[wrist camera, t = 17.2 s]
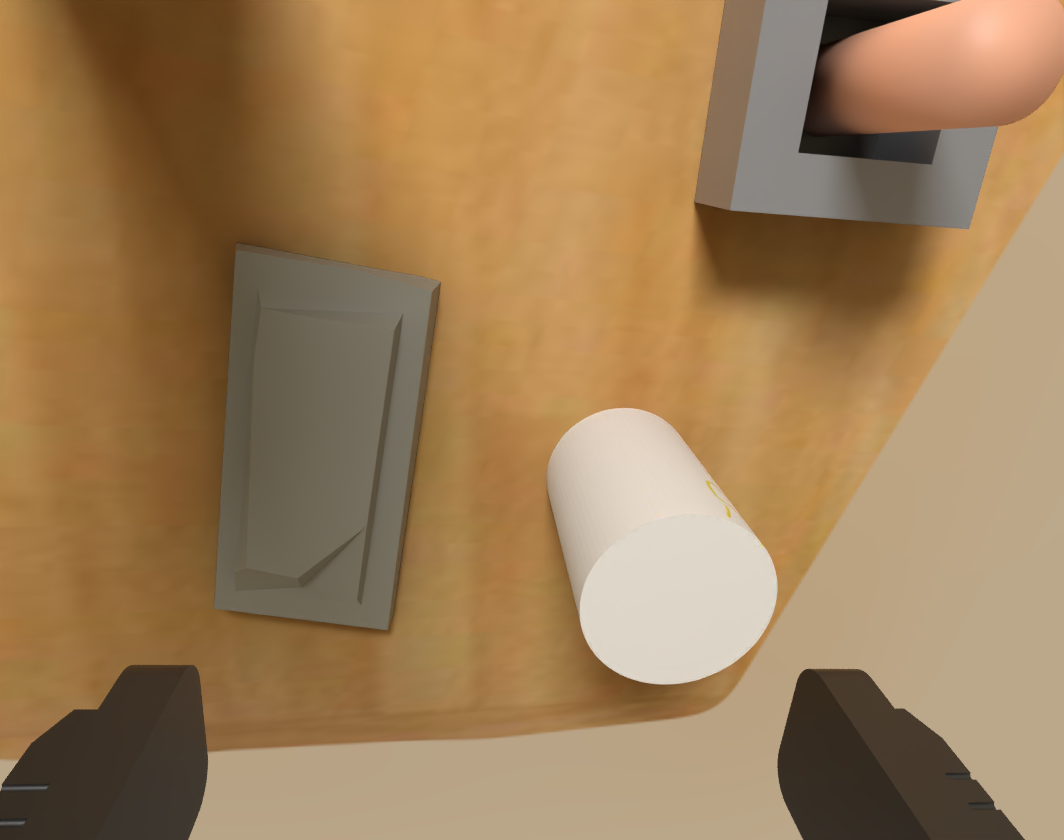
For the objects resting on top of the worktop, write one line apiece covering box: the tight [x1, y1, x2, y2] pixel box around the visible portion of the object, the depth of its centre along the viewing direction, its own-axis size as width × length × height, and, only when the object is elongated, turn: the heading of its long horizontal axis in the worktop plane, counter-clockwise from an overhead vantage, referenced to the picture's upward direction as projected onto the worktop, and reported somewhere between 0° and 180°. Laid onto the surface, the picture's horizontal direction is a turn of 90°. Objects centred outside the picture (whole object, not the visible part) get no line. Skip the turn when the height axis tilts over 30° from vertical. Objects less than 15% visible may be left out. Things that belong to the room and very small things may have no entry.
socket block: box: [694, 0, 998, 229], centre depth 31 cm, size 11×11×5 cm
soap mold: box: [214, 243, 441, 630], centre depth 37 cm, size 10×20×4 cm, turn 169°
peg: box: [803, 0, 1064, 137], centre depth 28 cm, size 4×4×12 cm
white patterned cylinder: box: [546, 408, 777, 684], centre depth 34 cm, size 8×8×12 cm
